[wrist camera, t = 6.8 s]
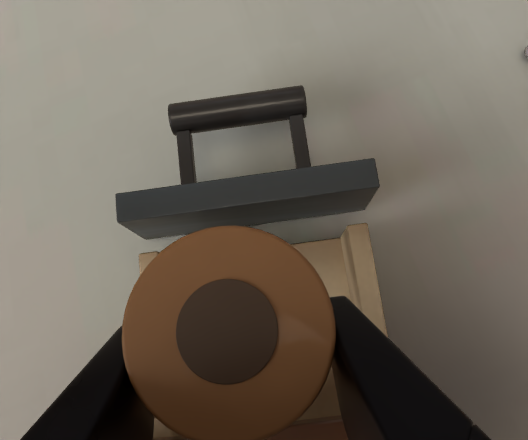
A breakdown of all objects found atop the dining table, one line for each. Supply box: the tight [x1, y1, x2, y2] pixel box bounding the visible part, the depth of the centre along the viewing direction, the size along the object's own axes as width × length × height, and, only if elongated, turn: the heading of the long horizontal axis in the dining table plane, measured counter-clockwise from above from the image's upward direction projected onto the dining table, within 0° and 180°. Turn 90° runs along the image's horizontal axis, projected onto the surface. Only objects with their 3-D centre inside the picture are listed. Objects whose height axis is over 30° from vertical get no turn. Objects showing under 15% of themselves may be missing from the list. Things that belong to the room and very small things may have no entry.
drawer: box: [116, 85, 388, 439], centre depth 20 cm, size 17×10×4 cm, turn 7°
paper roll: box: [122, 225, 336, 440], centre depth 12 cm, size 3×3×9 cm
